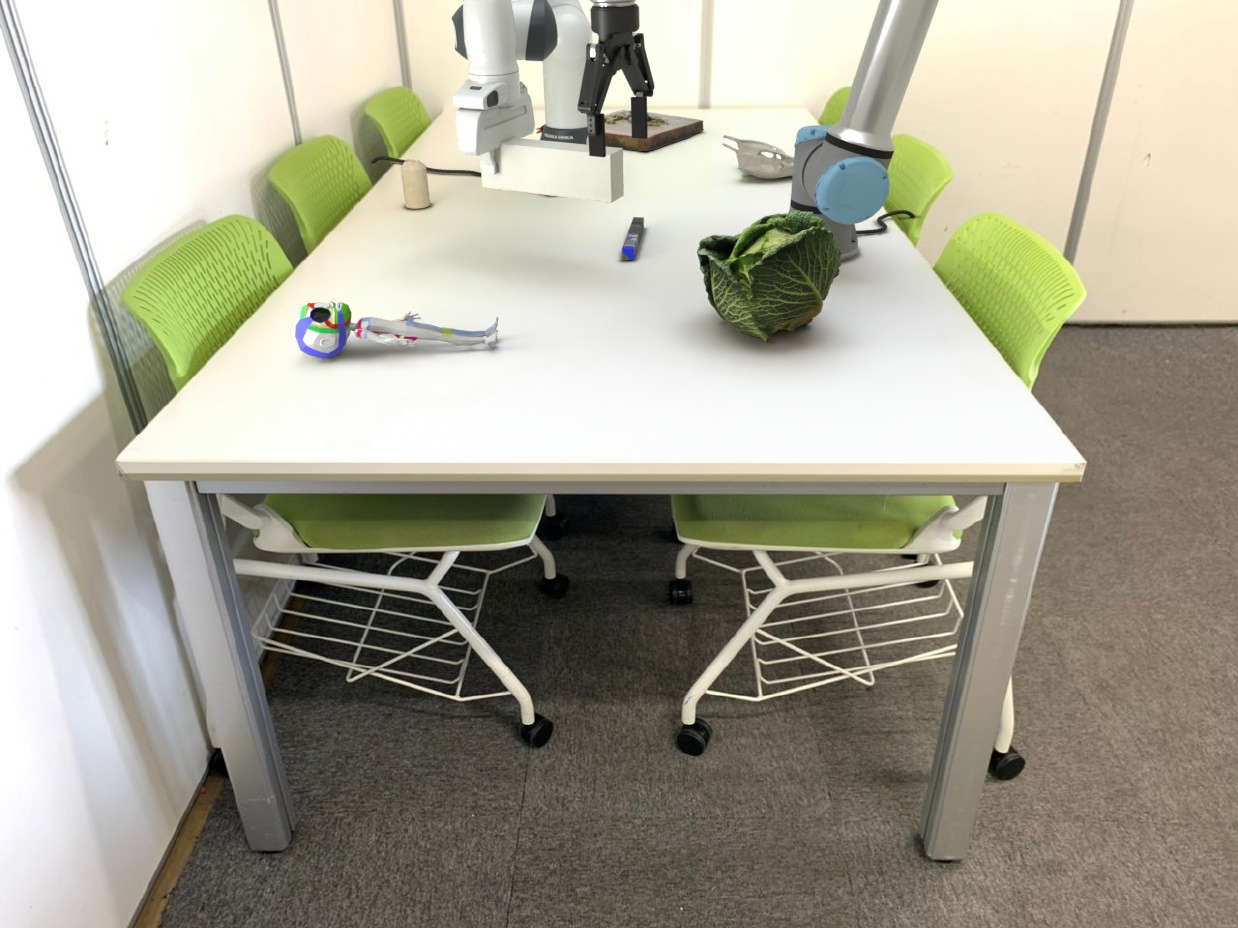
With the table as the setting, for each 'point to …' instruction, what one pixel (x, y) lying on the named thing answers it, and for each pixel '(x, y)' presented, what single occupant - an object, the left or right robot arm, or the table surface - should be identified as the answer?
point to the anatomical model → (761, 159)
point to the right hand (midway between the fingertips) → (619, 147)
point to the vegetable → (770, 272)
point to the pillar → (633, 238)
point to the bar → (556, 170)
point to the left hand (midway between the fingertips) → (501, 170)
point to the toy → (371, 330)
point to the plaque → (658, 126)
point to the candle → (415, 184)
